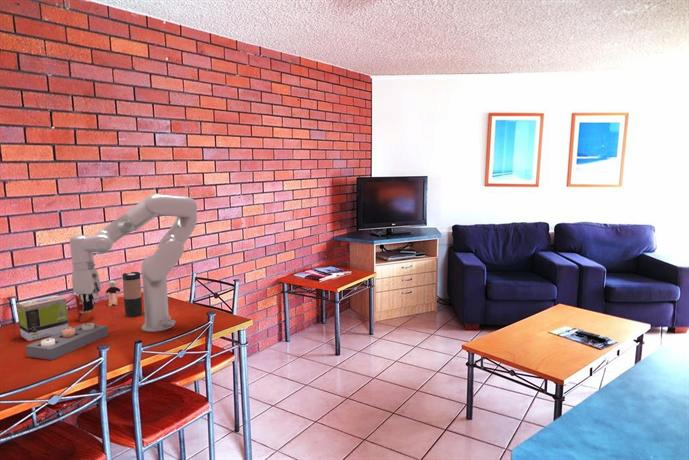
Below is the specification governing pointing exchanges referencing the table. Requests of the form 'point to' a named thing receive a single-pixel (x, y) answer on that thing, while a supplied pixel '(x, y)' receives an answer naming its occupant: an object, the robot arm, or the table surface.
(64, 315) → the tea box
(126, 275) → the travel mug
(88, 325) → the sage button
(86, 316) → the paper cup
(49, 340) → the white round knob
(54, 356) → the button panel
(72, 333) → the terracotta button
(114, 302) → the grandmother figurine
